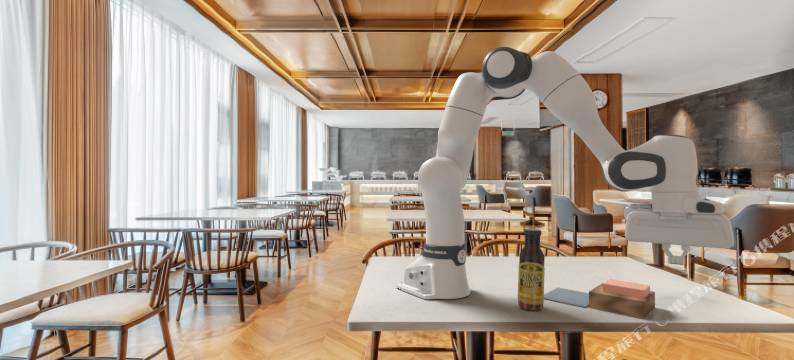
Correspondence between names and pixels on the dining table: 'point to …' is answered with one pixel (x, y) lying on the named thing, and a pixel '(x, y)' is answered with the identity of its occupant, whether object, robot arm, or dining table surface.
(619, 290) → the pink rectangular block
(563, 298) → the mat
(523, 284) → the sauce bottle
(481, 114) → the robot arm
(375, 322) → the dining table surface
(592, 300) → the block
